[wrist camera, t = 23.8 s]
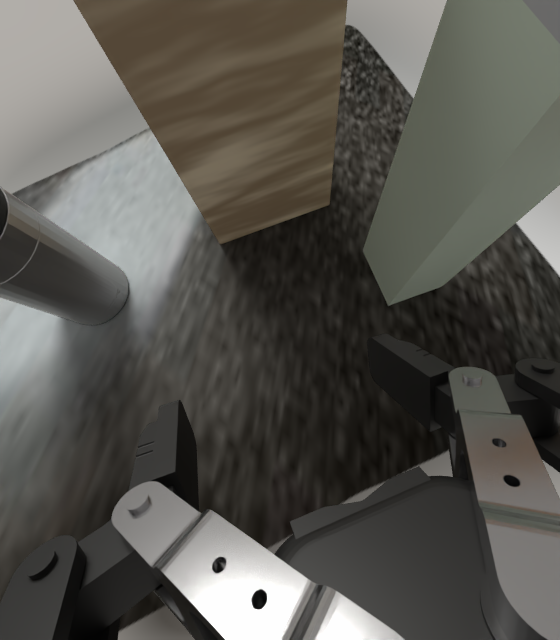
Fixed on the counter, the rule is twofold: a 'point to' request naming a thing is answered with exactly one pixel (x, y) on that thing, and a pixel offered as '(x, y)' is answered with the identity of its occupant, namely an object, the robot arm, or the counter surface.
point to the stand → (234, 98)
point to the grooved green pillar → (470, 143)
